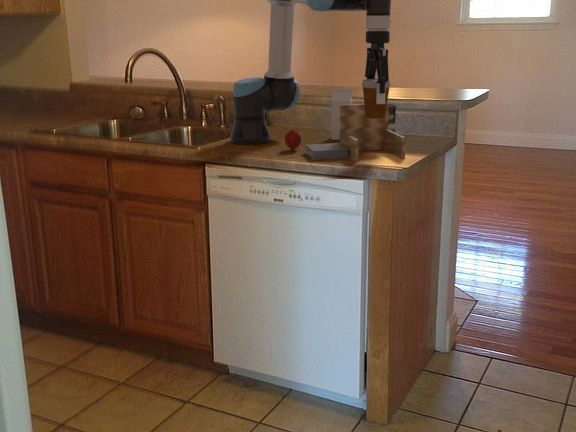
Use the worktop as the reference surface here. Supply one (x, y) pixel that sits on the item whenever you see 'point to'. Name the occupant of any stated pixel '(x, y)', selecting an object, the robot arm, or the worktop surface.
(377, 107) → the disposable coffee cup
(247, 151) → the worktop surface
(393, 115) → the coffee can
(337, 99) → the milk carton
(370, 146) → the brown patterned armchair
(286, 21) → the robot arm
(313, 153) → the trivet
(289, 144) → the onion
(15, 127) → the worktop surface
